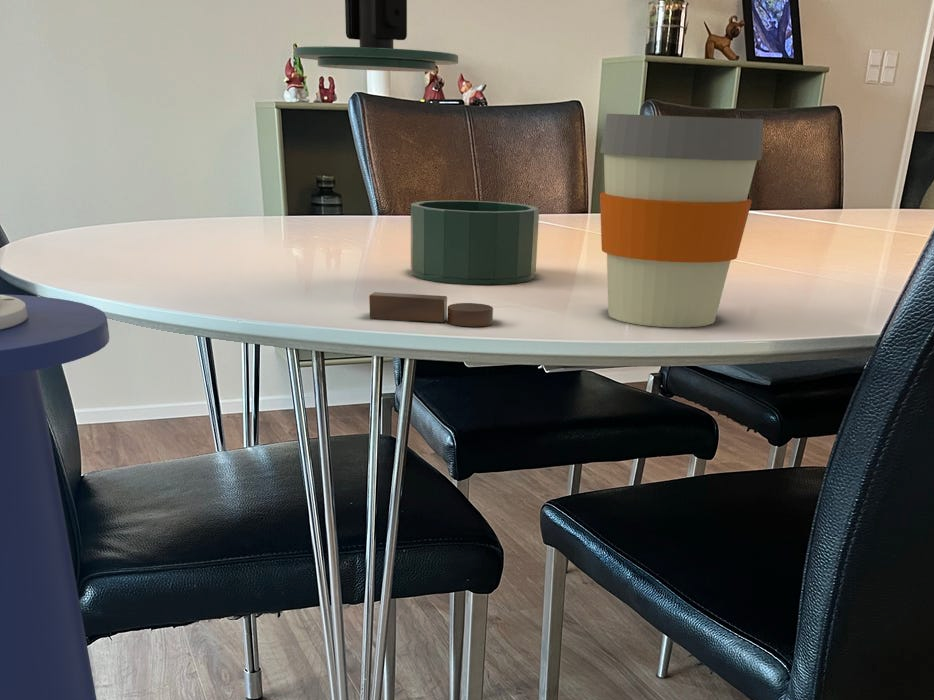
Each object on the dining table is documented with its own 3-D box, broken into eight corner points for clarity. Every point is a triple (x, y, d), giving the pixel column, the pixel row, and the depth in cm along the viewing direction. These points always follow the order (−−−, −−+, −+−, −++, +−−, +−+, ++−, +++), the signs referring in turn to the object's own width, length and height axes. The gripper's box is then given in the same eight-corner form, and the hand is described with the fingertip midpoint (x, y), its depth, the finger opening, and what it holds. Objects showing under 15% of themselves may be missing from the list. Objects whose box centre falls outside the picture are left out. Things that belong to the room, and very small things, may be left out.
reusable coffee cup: (598, 329, 78) (617, 114, 71) (577, 302, 89) (592, 113, 82) (755, 333, 79) (789, 120, 72) (715, 305, 90) (741, 118, 83)
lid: (430, 66, 76) (431, -47, 73) (266, 62, 79) (260, -48, 75) (475, 74, 88) (478, -24, 84) (331, 70, 91) (328, -25, 87)
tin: (519, 288, 95) (523, 214, 92) (394, 279, 98) (394, 207, 95) (545, 271, 106) (549, 204, 103) (432, 263, 108) (432, 198, 105)
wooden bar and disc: (366, 320, 78) (366, 297, 77) (376, 312, 81) (376, 289, 81) (489, 327, 77) (490, 304, 76) (495, 319, 80) (495, 296, 80)
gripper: (269, -240, 77) (283, 38, 85) (401, -289, 66) (402, 33, 75) (349, -218, 81) (354, 44, 90) (483, -261, 71) (475, 40, 79)
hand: (376, 36), depth 82 cm, fingers closed on lid, 2 cm apart
